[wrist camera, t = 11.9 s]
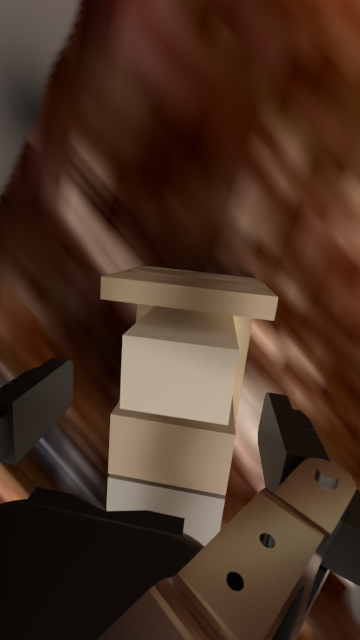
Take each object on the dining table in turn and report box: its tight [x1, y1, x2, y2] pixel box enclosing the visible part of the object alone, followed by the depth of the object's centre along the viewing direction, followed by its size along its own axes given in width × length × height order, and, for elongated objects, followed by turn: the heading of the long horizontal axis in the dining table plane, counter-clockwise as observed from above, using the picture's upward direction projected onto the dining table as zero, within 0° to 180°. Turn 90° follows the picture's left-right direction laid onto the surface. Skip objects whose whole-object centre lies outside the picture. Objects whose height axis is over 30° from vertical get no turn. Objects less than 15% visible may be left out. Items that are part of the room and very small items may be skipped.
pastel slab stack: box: [100, 266, 278, 546], centre depth 23 cm, size 9×30×10 cm, turn 174°
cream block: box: [120, 306, 239, 425], centre depth 19 cm, size 4×6×9 cm
